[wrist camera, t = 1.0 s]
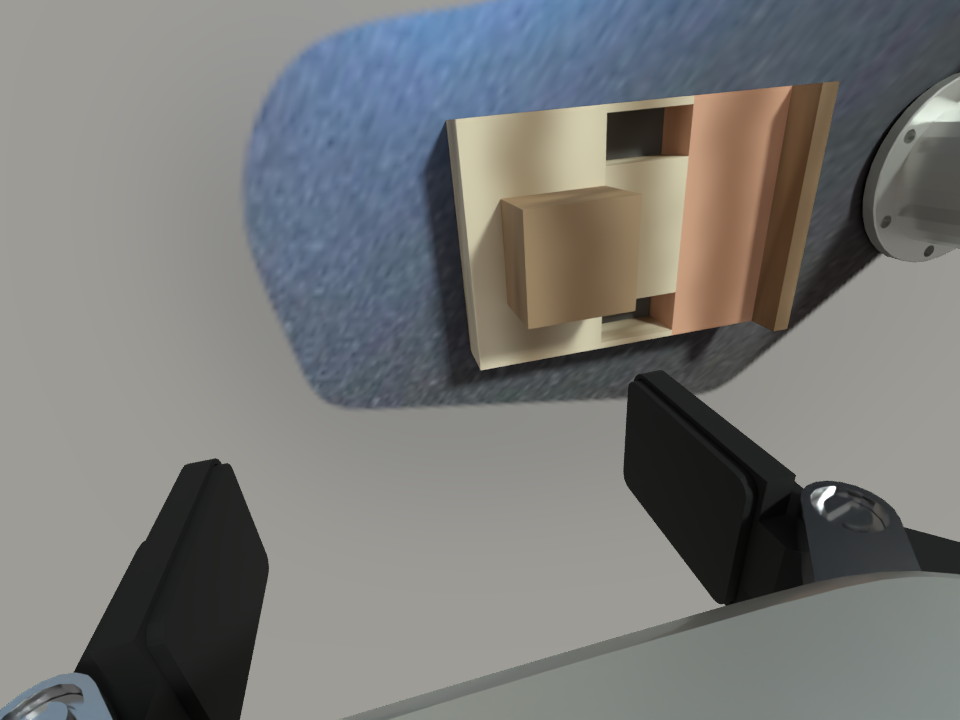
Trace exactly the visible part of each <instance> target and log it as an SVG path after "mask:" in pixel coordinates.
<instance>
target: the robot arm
mask: <svg viewBox="0 0 960 720" xmlns="http://www.w3.org/2000/svg"><path fill="white" fill-rule="evenodd" d="M863 220H864V226H865V230H866V233H867V235H868V237H869V239H870V242H871V243H872V244H873V245H874V246H875V248H876V249H877V250H878V251H880V252H881V253H883V254H884V255H886V256H888V257H892V258H895V259H899V260H903V261H910V262H920V261H921V262H922V261H928V260H931V259H934V258H937V257H940V256H942V255H944V254H946V253H948V252H950V251H952V250H954V249H956V248H958V249H960V73H957V74H954V75H952V76H950V77H948V78H946V79H944V80H942V81H940V82H938V83H937V84H935V85H934V86H933V87H931V88H930V89H928V90H927V91H926V92H924V93H923V94H922V95H921V96H920V97H919V98H917V99H916V100H915V101H914V102H913V103H912V104H911V105H910V106H909V107H908V108H907V109H906V110H905V112H904V113H903V114H902V115H901V117H900V118H899V119H898V120H897V122H896V123H895V124H894V125H893V127H892V128H891V130H890V131H889V133H888V134H887V136H886V138H885V139H884V141H883V142H882V144H881V146H880V148H879V150H878V152H877V154H876V156H875V158H874V161H873V163H872V165H871V168H870V171H869V174H868V178H867V181H866V185H865V191H864V196H863ZM795 476H796V475H795V474H794V473H793V472H791V471H790V470H789V469H787V468H786V467H785V466H784V465H782V464H781V463H780V462H779V461H777V460H776V459H775V458H774V457H772V456H771V455H770V454H768V453H767V452H766V451H765V450H763V449H762V448H761V447H760V446H758V445H757V444H756V443H754V442H753V441H752V440H750V439H749V438H748V437H747V436H746V435H744V434H743V433H742V432H740V431H739V430H738V429H737V428H735V427H734V426H733V425H731V424H730V423H729V422H728V421H726V420H725V419H724V418H723V417H721V416H720V415H719V414H718V413H716V412H715V411H714V410H712V409H711V408H710V407H708V406H707V405H706V404H705V403H703V402H702V401H701V400H700V399H698V398H697V397H696V396H695V395H693V394H692V393H691V392H689V391H688V390H687V389H686V388H684V387H683V386H682V385H681V384H679V383H678V382H677V381H675V380H674V379H673V378H672V377H670V376H669V375H668V374H667V373H665V372H664V371H662V370H658V371H653V372H648V373H643V374H638V375H637V376H636V377H635V379H634V382H631V383H630V384H629V387H628V401H627V418H626V436H625V453H624V479H625V482H626V484H627V486H628V487H629V489H630V490H631V491H632V493H633V494H634V495H635V497H636V498H637V500H638V501H639V502H640V503H641V505H642V506H643V507H644V509H645V510H646V511H647V513H648V514H649V515H650V517H651V518H652V519H653V520H654V522H655V523H656V524H657V526H658V527H659V528H660V530H661V531H662V532H663V533H664V535H665V536H666V537H667V539H668V540H669V541H670V543H671V544H672V545H673V547H674V548H675V549H676V551H677V552H678V553H679V555H680V556H681V557H682V559H684V561H685V562H686V564H687V565H688V566H689V568H690V569H691V570H692V572H693V573H694V574H695V576H696V577H697V578H698V580H699V581H700V582H701V583H702V585H703V586H704V587H705V589H706V590H707V591H708V593H709V594H710V595H711V597H712V598H713V599H714V600H715V601H716V602H717V603H719V604H725V605H726V606H724V607H721V608H717V609H714V610H710V611H707V612H703V613H700V614H696V615H693V616H689V617H686V618H682V619H679V620H675V621H672V622H669V623H665V624H662V625H658V626H654V627H651V628H647V629H644V630H641V631H637V632H634V633H630V634H627V635H623V636H620V637H616V638H613V639H609V640H606V641H602V642H599V643H596V644H592V645H589V646H586V647H582V648H579V649H575V650H572V651H568V652H565V653H562V654H558V655H555V656H551V657H548V658H544V659H541V660H538V661H534V662H531V663H527V664H524V665H521V666H517V667H514V668H510V669H507V670H504V671H500V672H497V673H493V674H490V675H487V676H483V677H480V678H476V679H473V680H470V681H466V682H463V683H460V684H456V685H453V686H450V687H446V688H443V689H440V690H436V691H433V692H430V693H426V694H423V695H420V696H416V697H413V698H409V699H406V700H403V701H399V702H396V703H393V704H390V705H386V706H383V707H379V708H376V709H373V710H369V711H366V712H363V713H359V714H356V715H353V716H349V717H346V718H343V719H339V720H960V542H957V541H953V540H949V539H945V538H942V537H938V536H934V535H931V534H927V533H923V532H919V531H916V530H912V529H908V528H905V527H903V524H902V522H901V519H900V517H899V516H898V515H897V513H896V511H895V510H894V509H893V507H891V506H890V505H889V504H888V503H887V502H886V501H885V500H883V499H882V498H880V497H878V496H877V495H875V494H873V493H872V492H870V491H867V490H865V489H863V488H860V487H858V486H855V485H851V484H847V483H843V482H836V481H819V482H814V483H812V484H809V485H807V486H806V487H805V488H804V489H803V488H802V487H801V486H800V485H798V484H797V483H796V482H795ZM268 572H269V564H268V558H267V554H266V552H265V549H264V547H263V544H262V542H261V539H260V537H259V534H258V532H257V529H256V527H255V524H254V522H253V519H252V517H251V514H250V512H249V509H248V507H247V504H246V502H245V499H244V497H243V494H242V491H241V489H240V487H239V484H238V481H237V479H236V476H235V474H234V471H233V469H232V467H231V465H230V464H228V463H227V464H221V462H220V461H219V460H218V459H216V458H215V459H210V460H205V461H200V462H195V463H190V464H187V465H185V466H184V467H183V469H182V470H181V472H180V474H179V476H178V478H177V480H176V482H175V484H174V486H173V488H172V490H171V492H170V494H169V496H168V498H167V500H166V502H165V504H164V505H163V507H162V509H161V512H160V513H159V515H158V518H157V519H156V521H155V523H154V525H153V527H152V529H151V531H150V533H149V535H148V537H147V539H146V541H144V542H143V543H142V544H141V545H140V547H139V548H138V549H137V551H136V553H135V555H134V557H133V559H132V561H131V563H130V565H129V567H128V569H127V571H126V573H125V575H124V576H123V578H122V580H121V582H120V584H119V586H118V588H117V590H116V592H115V594H114V596H113V598H112V599H111V602H110V603H109V605H108V607H107V609H106V611H105V613H104V615H103V617H102V619H101V621H100V623H99V625H98V626H97V628H96V630H95V632H94V634H93V636H92V638H91V640H90V642H89V644H88V646H87V648H86V650H85V652H84V653H83V655H82V657H81V659H80V661H79V663H78V665H77V667H76V669H75V671H74V673H69V674H62V675H58V676H56V677H53V678H50V679H48V680H45V681H42V682H40V683H39V684H37V685H35V686H33V687H32V688H30V689H28V690H27V691H25V692H23V693H21V694H20V695H19V696H17V697H16V698H15V699H14V700H13V701H11V702H10V703H8V704H7V705H6V706H5V707H3V708H2V709H1V710H0V720H240V715H241V710H242V706H243V701H244V696H245V690H246V685H247V680H248V675H249V670H250V665H251V660H252V655H253V650H254V645H255V639H256V634H257V629H258V624H259V619H260V614H261V609H262V604H263V598H264V593H265V588H266V583H267V578H268Z"/></svg>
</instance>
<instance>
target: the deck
mask: <svg viewBox="0 0 960 720" xmlns="http://www.w3.org/2000/svg"><path fill="white" fill-rule="evenodd" d="M839 82H840V81H835V82H825V83H815V84H805V85H795V86H785V87H775V88H765V89H755V90H745V91H735V92H725V93H715V94H705V95H695V96H685V97H675V98H664V99H654V100H644V101H634V102H624V103H614V104H604V105H594V106H584V107H574V108H564V109H554V110H544V111H534V112H524V113H514V114H504V115H494V116H483V117H473V118H463V119H453V120H446V125H447V134H448V143H449V153H450V162H451V171H452V180H453V190H454V199H455V208H456V217H457V227H458V236H459V245H460V255H461V264H462V273H463V282H464V292H465V301H466V310H467V319H468V329H469V338H470V347H471V352H472V354H473V356H474V358H475V360H476V362H477V364H478V366H479V368H480V370H486V369H491V368H497V367H502V366H508V365H513V364H518V363H524V362H529V361H535V360H540V359H546V358H551V357H556V356H562V355H567V354H573V353H578V352H584V351H589V350H594V349H600V348H605V347H611V346H616V345H622V344H627V343H633V342H638V341H643V340H649V339H654V338H660V337H665V336H671V335H676V334H681V333H687V332H692V331H698V330H703V329H709V328H714V327H720V326H725V325H730V324H736V323H741V322H747V321H753V322H755V323H758V324H760V325H762V326H764V327H766V328H768V329H770V330H772V331H778V330H784V329H787V327H788V323H789V318H790V313H791V308H792V304H793V299H794V294H795V289H796V285H797V280H798V275H799V271H800V266H801V261H802V256H803V252H804V247H805V242H806V238H807V233H808V228H809V223H810V219H811V214H812V209H813V204H814V200H815V195H816V190H817V186H818V181H819V176H820V171H821V167H822V162H823V157H824V152H825V148H826V143H827V138H828V134H829V129H830V124H831V119H832V115H833V110H834V105H835V100H836V96H837V91H838V86H839ZM598 186H609V187H614V188H618V189H622V190H627V191H631V192H635V193H640V194H642V206H641V223H640V240H639V258H638V275H637V292H636V309H635V311H632V312H626V313H620V314H614V315H608V316H603V317H597V318H591V319H585V320H580V321H574V322H568V323H562V324H556V325H551V326H545V327H539V328H533V329H528V328H527V327H526V326H525V325H524V324H523V322H522V321H521V320H520V319H519V318H518V316H517V315H516V314H515V313H514V312H513V310H512V309H511V308H510V307H509V306H508V303H507V288H506V273H505V258H504V243H503V228H502V213H501V199H504V198H512V197H519V196H527V195H535V194H543V193H551V192H559V191H566V190H574V189H582V188H590V187H598Z"/></svg>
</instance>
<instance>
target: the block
mask: <svg viewBox="0 0 960 720" xmlns="http://www.w3.org/2000/svg"><path fill="white" fill-rule="evenodd" d="M641 206H642V194H640V193H635V192H631V191H627V190H622V189H618V188H614V187H609V186H598V187H590V188H582V189H574V190H566V191H559V192H551V193H543V194H535V195H527V196H519V197H512V198H504V199H501V213H502V228H503V243H504V258H505V273H506V288H507V303H508V306H509V307H510V308H511V309H512V310H513V312H514V313H515V314H516V315H517V316H518V318H519V319H520V320H521V321H522V322H523V324H524V325H525V326H526V327H527V328H528V329H533V328H539V327H545V326H551V325H556V324H562V323H568V322H574V321H580V320H585V319H591V318H597V317H603V316H608V315H614V314H620V313H626V312H632V311H635V309H636V292H637V275H638V258H639V240H640V223H641Z"/></svg>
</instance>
